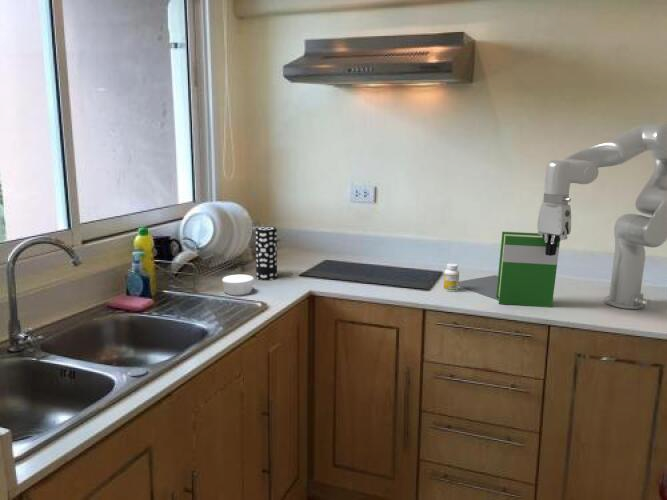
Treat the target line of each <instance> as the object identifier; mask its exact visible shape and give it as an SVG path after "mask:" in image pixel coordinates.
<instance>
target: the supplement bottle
mask: <svg viewBox="0 0 667 500" xmlns="http://www.w3.org/2000/svg"><path fill="white" fill-rule="evenodd" d="M458 267H459V264H457V263H447V264H446V269H445V270H444V274H443V275H444V276H443V290H444V291H446V292H457V291H459V286H458V284H459V281H460V271H459V270H458Z"/></svg>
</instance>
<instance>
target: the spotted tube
mask: <svg viewBox="0 0 667 500" xmlns="http://www.w3.org/2000/svg"><path fill="white" fill-rule="evenodd" d="M254 230H255V234H254V235H255V236H254V237H255V238H254V239H255V274H256V275H255V277H256V278H255V279H256V280H259V281H273V280H276V279H278V251H277V250H278V249H277V248H278V244H277V243H278V242H277V241H278V238H277V237H278V236H277V235H278V232H277V227H274V226H257V227H255V228H254Z"/></svg>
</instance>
